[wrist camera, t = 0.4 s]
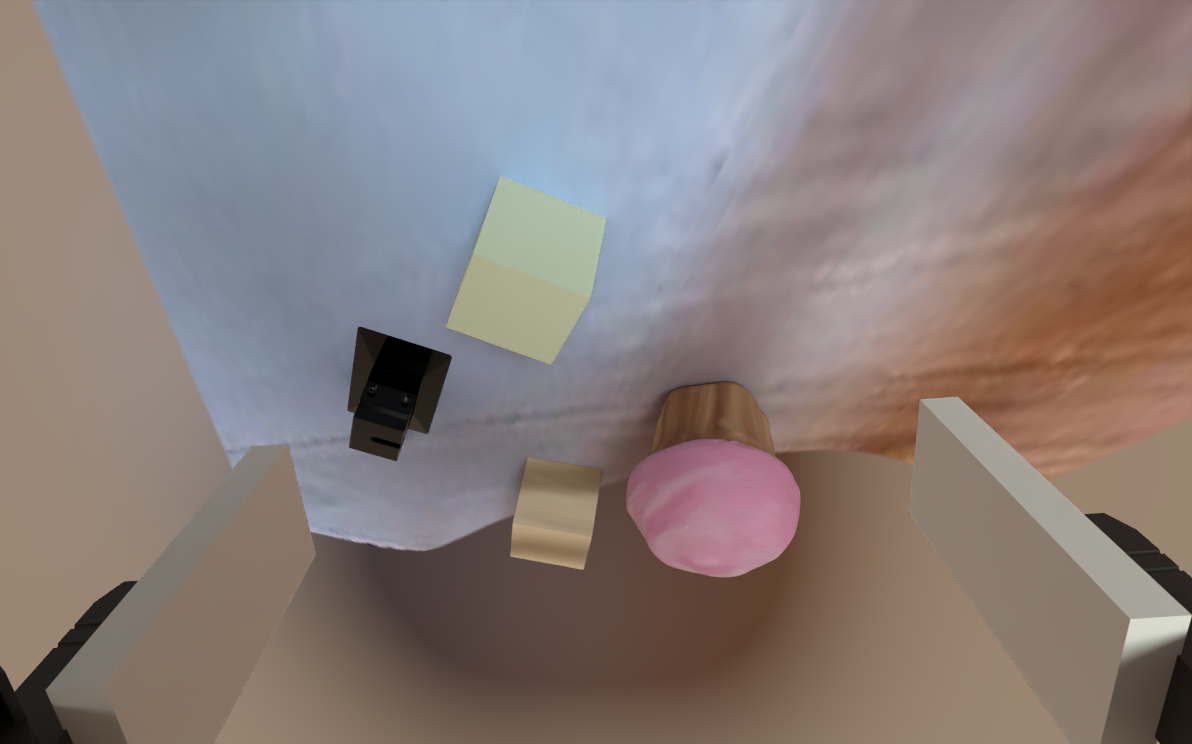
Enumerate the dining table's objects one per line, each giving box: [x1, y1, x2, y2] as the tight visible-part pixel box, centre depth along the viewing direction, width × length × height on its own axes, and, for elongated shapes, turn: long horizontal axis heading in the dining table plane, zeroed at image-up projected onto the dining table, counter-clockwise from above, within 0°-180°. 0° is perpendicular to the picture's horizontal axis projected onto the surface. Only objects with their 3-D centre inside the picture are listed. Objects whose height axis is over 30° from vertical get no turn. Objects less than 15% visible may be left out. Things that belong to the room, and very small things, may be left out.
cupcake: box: [626, 382, 800, 577], centre depth 41 cm, size 9×9×10 cm
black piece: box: [348, 327, 452, 461], centre depth 46 cm, size 12×7×5 cm, turn 161°
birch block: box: [510, 456, 602, 569], centre depth 51 cm, size 5×5×5 cm
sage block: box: [446, 175, 607, 365], centre depth 34 cm, size 5×5×5 cm
